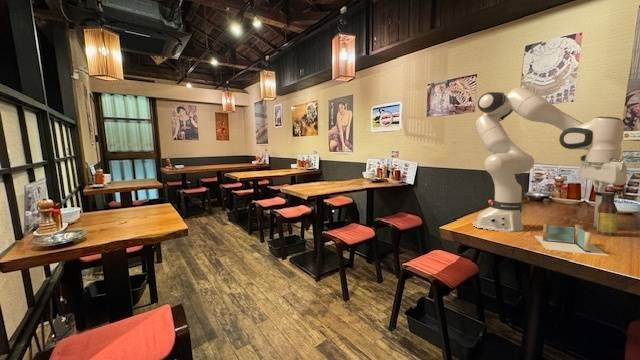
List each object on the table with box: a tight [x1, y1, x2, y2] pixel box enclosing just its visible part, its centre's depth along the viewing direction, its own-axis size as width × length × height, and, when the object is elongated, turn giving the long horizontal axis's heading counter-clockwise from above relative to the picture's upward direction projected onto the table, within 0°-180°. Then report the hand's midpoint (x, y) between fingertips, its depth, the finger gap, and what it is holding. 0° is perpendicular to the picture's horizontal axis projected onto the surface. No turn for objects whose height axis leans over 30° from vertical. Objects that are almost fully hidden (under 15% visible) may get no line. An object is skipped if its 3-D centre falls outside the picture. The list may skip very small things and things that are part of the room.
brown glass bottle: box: [592, 189, 616, 230], centre depth 127 cm, size 6×7×20 cm
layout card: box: [533, 235, 609, 257], centre depth 108 cm, size 18×19×1 cm
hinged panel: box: [577, 228, 592, 251], centre depth 102 cm, size 9×2×7 cm, turn 150°
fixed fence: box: [542, 222, 584, 245], centre depth 110 cm, size 13×2×8 cm, turn 62°
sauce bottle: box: [596, 192, 619, 237], centre depth 118 cm, size 6×6×20 cm
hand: (599, 192), depth 104 cm, fingers closed
